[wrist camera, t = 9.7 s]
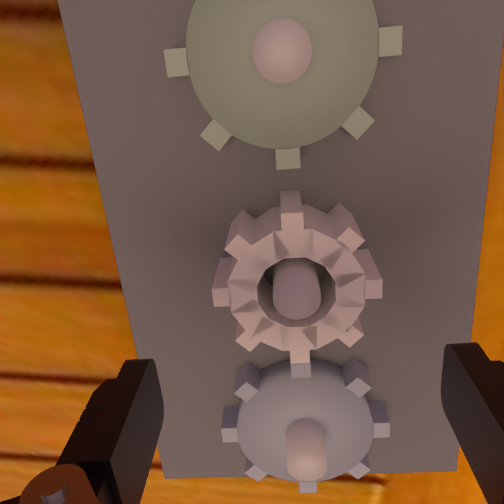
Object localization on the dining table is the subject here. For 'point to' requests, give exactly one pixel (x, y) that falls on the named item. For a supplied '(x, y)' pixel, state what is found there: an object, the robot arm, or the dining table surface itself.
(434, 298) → the gear board
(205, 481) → the dining table surface
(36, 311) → the dining table surface
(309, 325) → the gear
